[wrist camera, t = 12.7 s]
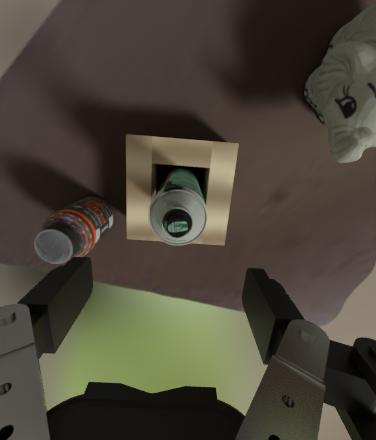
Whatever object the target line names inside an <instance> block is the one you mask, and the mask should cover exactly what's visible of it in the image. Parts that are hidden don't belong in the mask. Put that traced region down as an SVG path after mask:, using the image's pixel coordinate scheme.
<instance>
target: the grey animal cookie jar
mask: <svg viewBox="0 0 376 440" xmlns="http://www.w3.org/2000/svg"><path fill="white" fill-rule="evenodd" d="M304 95H305V98H306V100H307V101H308V102H309V103H310V104H311V106H312V107H313V108H314V109H315V110H316V111H317V113H318V115H319V118H320V120H321V121H322V122H323V123H324V124H325V125H327V127H328V141H329V147H330V151H331V155H332V157H333V158H334V159H335V160H336V161H337V162H340V163H346V162H353V161H356V160H358V159H359V158H360V157H361V156H362V153H363V151H364V150H365V149H366V148H368V147H376V3H374V4H373V5H371V6H369V7H368V8H366V9H365V10H363V11H362V12H361V13H360V14H358V15H357V16H356V17H355V18H354V19H353V20H352V21H350V22H349V23H347V24H345V25H344V26H343V27H341V28H340V29H339V30H338V32H337V33H336V34H335V35H334V37H333V38H332V40H331V42H330V44H329V47H328V51H327V54H326V56H325V57H324V59H323V62H322V64H321V66H320V67H318V68H317V69H316V70H315V71H314V72H313V73H312V74H311V75H310V76H309V78H308V80H307V82H306V84H305V89H304Z"/></svg>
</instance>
